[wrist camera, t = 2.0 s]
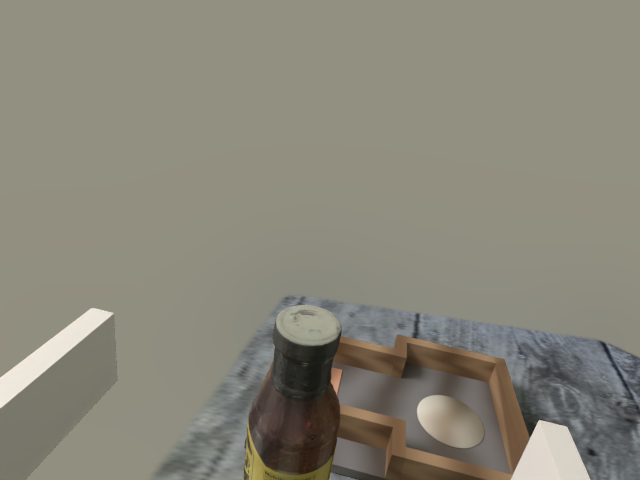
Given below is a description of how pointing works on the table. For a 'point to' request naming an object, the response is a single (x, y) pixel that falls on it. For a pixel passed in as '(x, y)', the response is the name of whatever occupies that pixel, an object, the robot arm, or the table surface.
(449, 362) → the keyhole guide
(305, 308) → the sauce bottle
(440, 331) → the table surface
